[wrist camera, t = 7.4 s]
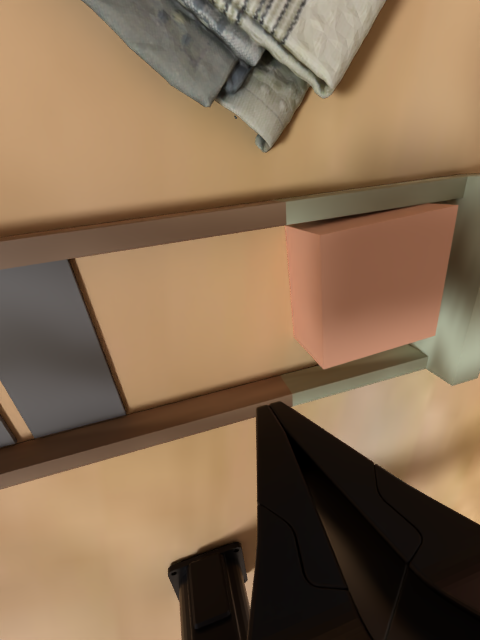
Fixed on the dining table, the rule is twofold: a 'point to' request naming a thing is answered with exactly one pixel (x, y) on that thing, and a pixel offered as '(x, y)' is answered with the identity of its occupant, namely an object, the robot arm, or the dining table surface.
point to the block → (368, 280)
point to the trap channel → (215, 408)
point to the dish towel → (245, 50)
